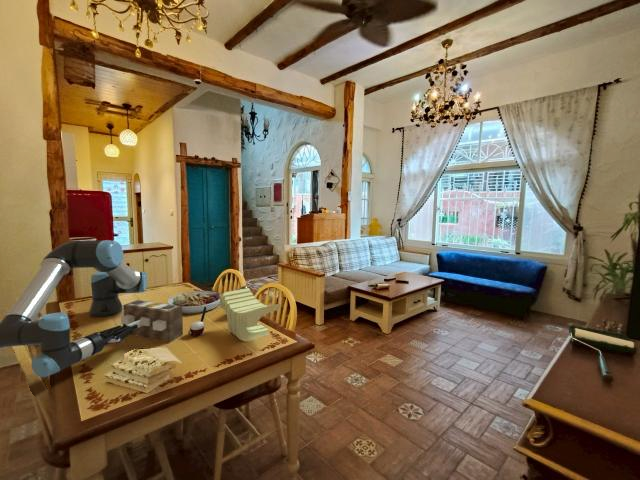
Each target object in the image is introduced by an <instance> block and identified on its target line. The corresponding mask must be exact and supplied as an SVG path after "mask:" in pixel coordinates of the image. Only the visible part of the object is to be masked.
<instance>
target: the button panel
mask: <svg viewBox="0 0 640 480" xmlns="http://www.w3.org/2000/svg"><path fill="white" fill-rule="evenodd" d="M122 306H123V316H124V315H127V314H129V315H135V321H138V320H140V318H141V317H149V318H150V322H151V325H150V326H144V325H143V326H141V327H139V328H137V329H135V330H133V334H131V335H130V336H135V337H141V338H144V339H145V338H146V339H151V340H156V341H160V342H168V343H171V342H173V341H174V340H176V339H178V338H180V337H182V336H183V335H184V331H183V330H184V328H183V325H184V324H183V322H184V320H183V313H182V306H176V305H169V304H167V303H164V302H163V303H162V302H155V301H148V300H141V299H137V300H134V301H131V302H128V303H125V304H122ZM156 320H164V321H166V324H167V328H166V329H164V330H162V331H158V330H153V322H154V321H156Z"/></svg>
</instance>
